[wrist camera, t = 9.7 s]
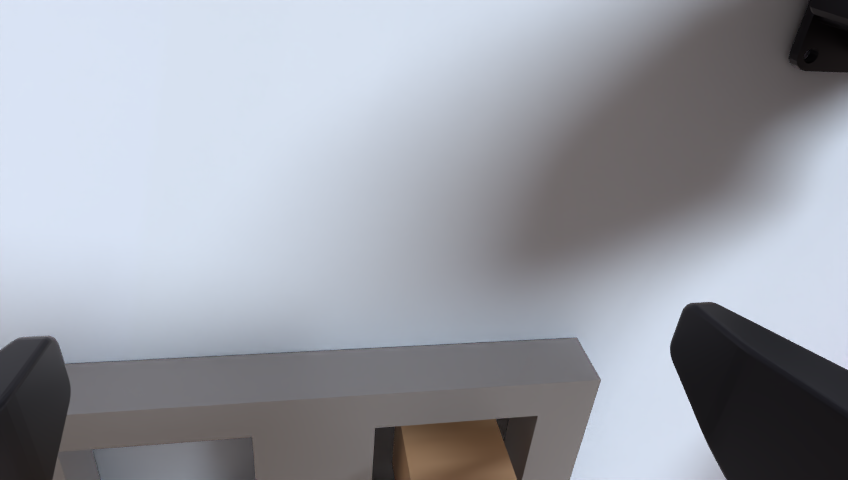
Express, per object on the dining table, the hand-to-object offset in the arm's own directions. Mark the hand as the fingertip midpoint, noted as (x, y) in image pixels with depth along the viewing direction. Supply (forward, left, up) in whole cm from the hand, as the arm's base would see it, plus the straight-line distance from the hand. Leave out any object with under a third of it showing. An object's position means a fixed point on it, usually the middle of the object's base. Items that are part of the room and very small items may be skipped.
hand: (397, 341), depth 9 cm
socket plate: (+1, +18, -12) cm, 22 cm away
